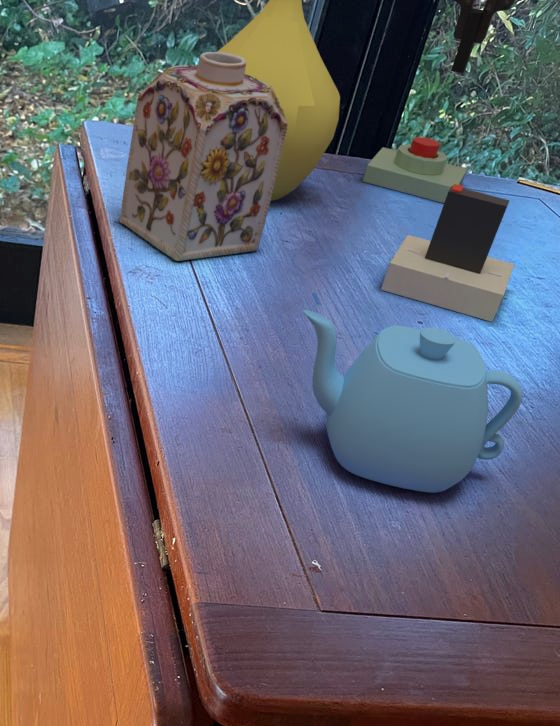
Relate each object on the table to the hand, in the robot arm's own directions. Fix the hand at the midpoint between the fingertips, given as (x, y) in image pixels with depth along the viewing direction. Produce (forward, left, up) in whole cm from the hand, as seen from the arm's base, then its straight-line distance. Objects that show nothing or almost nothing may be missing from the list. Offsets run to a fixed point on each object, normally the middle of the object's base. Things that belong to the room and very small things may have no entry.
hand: (458, 70), depth 126 cm
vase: (+19, +20, -14) cm, 31 cm away
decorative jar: (+19, +41, -14) cm, 48 cm away
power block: (+1, 0, -14) cm, 14 cm away
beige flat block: (-9, +35, -14) cm, 39 cm away
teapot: (-10, +74, -14) cm, 76 cm away
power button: (+1, 0, -10) cm, 10 cm away
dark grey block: (-9, +35, -11) cm, 38 cm away
